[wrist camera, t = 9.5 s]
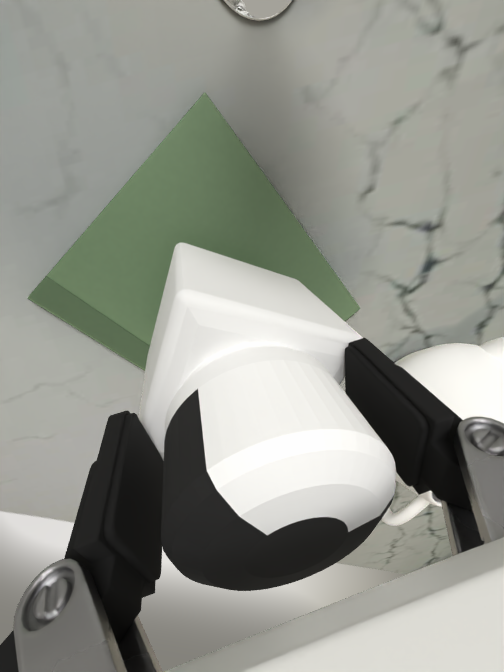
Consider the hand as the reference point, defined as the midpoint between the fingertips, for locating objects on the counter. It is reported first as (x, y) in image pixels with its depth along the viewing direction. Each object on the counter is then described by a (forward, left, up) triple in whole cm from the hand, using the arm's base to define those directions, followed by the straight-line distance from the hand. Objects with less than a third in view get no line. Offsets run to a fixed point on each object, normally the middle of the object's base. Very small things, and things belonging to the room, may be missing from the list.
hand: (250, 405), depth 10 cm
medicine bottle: (0, 0, -7) cm, 7 cm away
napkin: (0, 0, -10) cm, 10 cm away
